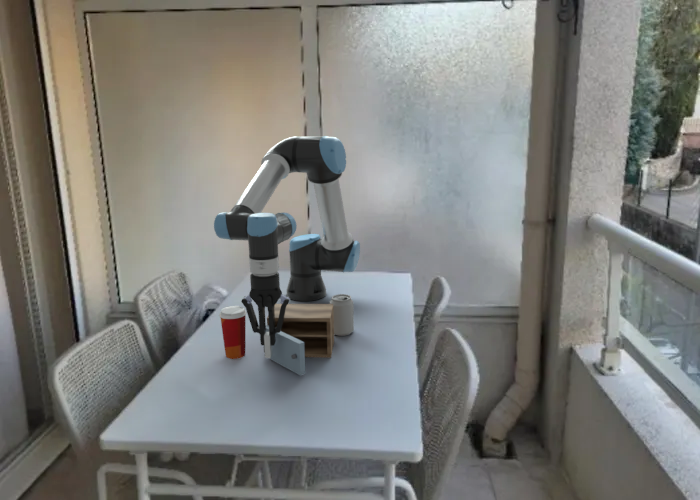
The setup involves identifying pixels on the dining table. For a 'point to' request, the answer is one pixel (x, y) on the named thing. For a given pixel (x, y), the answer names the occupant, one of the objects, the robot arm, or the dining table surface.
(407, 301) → the dining table surface
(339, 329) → the can
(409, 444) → the dining table surface
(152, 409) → the dining table surface
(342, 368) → the dining table surface
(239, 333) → the paper cup
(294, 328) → the cabinet
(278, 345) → the door
